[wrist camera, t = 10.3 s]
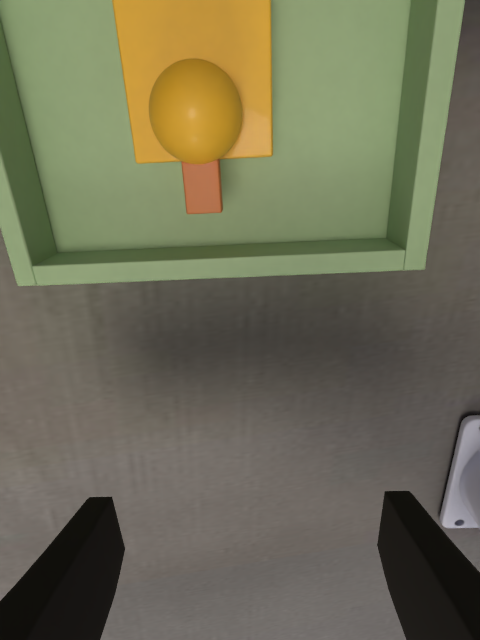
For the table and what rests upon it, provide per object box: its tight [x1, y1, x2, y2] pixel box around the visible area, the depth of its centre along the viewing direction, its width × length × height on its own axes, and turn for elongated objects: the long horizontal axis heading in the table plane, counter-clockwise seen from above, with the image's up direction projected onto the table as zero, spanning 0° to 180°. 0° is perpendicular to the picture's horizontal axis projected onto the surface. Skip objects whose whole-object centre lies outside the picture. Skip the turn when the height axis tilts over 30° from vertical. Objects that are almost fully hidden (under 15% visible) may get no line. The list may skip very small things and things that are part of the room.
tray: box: [0, 0, 465, 286], centre depth 13 cm, size 16×15×3 cm
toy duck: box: [112, 0, 273, 214], centre depth 11 cm, size 9×4×5 cm, turn 3°
